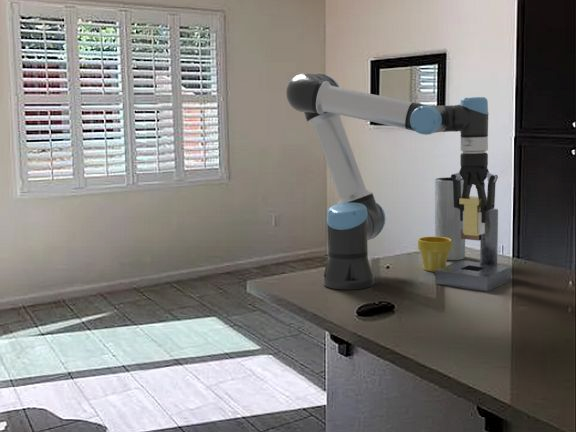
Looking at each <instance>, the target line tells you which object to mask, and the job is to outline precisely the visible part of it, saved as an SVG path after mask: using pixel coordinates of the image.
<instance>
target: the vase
mask: <svg viewBox="0 0 576 432" xmlns="http://www.w3.org/2000/svg"><path fill="white" fill-rule="evenodd" d="M460 181H461V198H462V193H463V183H464V180H463V178H462V177H461V179H460ZM461 229H463V221H461V220H460V209H458V208H455V207H454V197H453V181H452V178H451V176H450V177H437V178H435V180H434V237H446V238H449V239H451V250H450V251H449V253H448V257H447V261H460V260H464V259H465V258H466V239H461Z"/></svg>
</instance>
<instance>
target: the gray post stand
mask: <svg viewBox="0 0 576 432" xmlns="http://www.w3.org/2000/svg"><path fill="white" fill-rule="evenodd" d="M498 236H499V209H498V208H494V209H491V210H489V211H488V221H487V222H486V223H485V233H484V234H481V235H478V236H473V235H464V233H463V229H461V239H465V240H470V241H477V242H478V241H479V243H480V246H479V247H480V255H479V256H480V258H479V259H480V260H479V262H478V261H472V260H471V261H470V260H464V259H461V260H456V261H454V262H453V263H450V264H446V266H445V267H442V268H439V269H437V270H435V271H434V273H435V274H434V281H435V285H443V286H447V287H448V286H449V287H455V288H456V287H457V288H460V289H461V288H463V289H468V290H474V291H475V290H476V291H481V292H490V291H491V290H493V289H495V288H497V287H499V286H501V285H503V284H505V283H507V282H509V281H511V279H512V278H511V277H512V272H511V271H512V266H509V265H503V264H498V257H499V256H498V254H499V253H498V252H499V251H498V250H499V249H498V248H499V247H498V246H499V245H498V242H499V241H498V240H499V237H498Z"/></svg>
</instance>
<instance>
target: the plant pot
mask: <svg viewBox="0 0 576 432" xmlns="http://www.w3.org/2000/svg"><path fill="white" fill-rule="evenodd" d="M417 249H418V251H419V252H420V257H421V263H422V267H423V270H424V271H428V272H435V270H437V269H439V268H442V267H445V266H447V262H448V260H447V257H448V253H449V251H450V250H451V239H449V238H446V237H435V236H421V237H419V238H417Z"/></svg>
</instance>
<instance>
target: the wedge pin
mask: <svg viewBox="0 0 576 432" xmlns="http://www.w3.org/2000/svg"><path fill="white" fill-rule="evenodd" d="M486 199H487V196H486ZM459 204H464V235H473V236H478V212H480V210H481V209H480V205H482V199H479V198H478V196H473V195H472V196H471V195H470V196H469V197H467V198H459Z"/></svg>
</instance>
